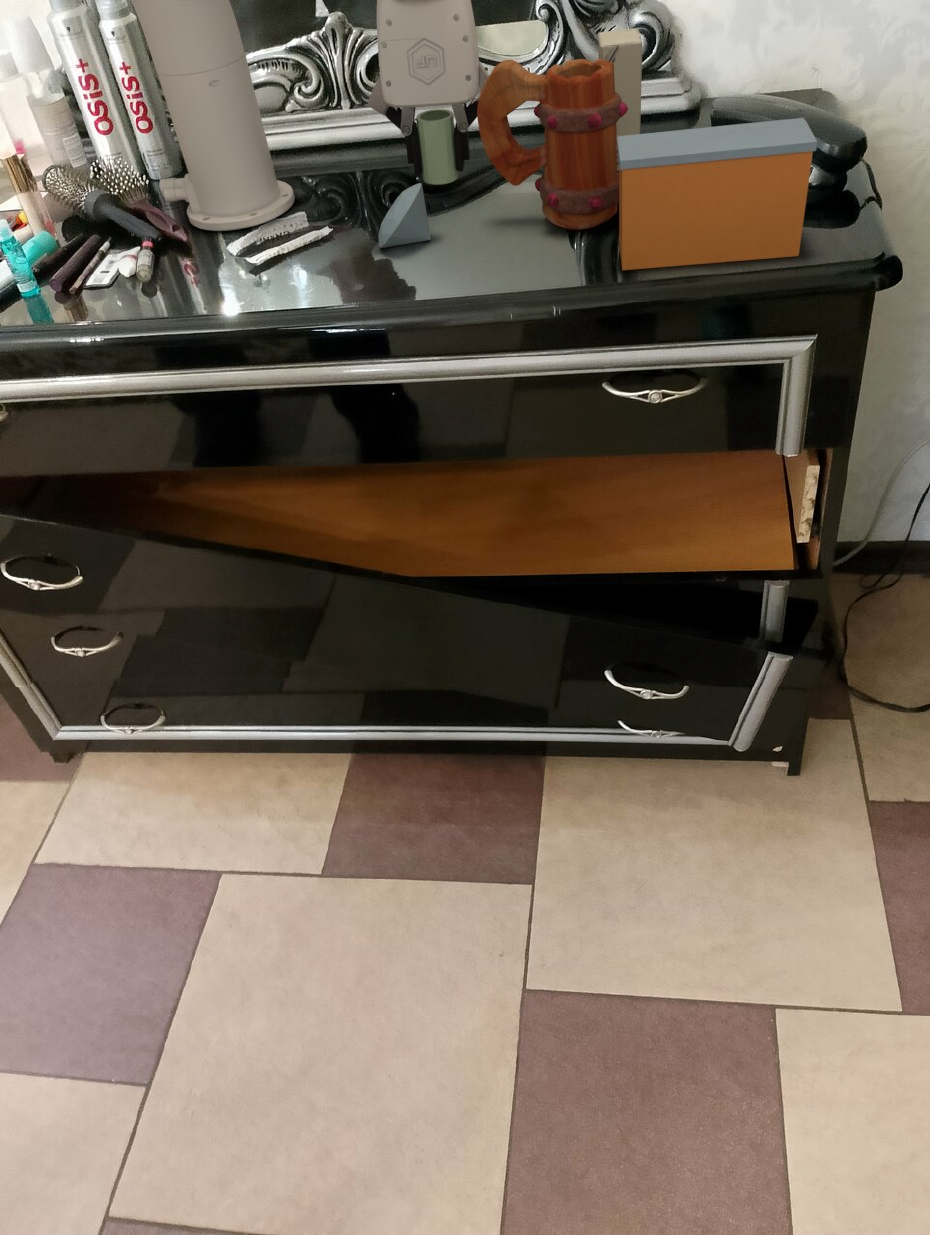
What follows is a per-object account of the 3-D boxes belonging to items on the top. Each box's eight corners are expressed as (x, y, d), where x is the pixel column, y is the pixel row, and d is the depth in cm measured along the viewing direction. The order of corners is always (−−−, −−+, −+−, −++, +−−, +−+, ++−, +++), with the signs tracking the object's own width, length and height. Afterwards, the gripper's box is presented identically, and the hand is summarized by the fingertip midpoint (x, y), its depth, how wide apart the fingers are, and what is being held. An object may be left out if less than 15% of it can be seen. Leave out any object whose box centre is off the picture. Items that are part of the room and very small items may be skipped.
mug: (634, 203, 98) (635, 41, 88) (622, 237, 93) (621, 68, 82) (499, 205, 102) (485, 50, 92) (480, 237, 97) (463, 76, 86)
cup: (421, 185, 104) (414, 122, 99) (425, 172, 107) (418, 110, 102) (457, 183, 103) (451, 120, 99) (459, 170, 106) (454, 107, 102)
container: (620, 271, 88) (619, 160, 81) (617, 244, 92) (616, 136, 85) (801, 257, 86) (817, 141, 79) (790, 229, 90) (804, 117, 83)
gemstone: (459, 194, 97) (420, 162, 95) (442, 235, 93) (401, 202, 91) (420, 243, 103) (382, 214, 101) (402, 284, 98) (363, 255, 97)
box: (598, 157, 109) (596, 31, 100) (637, 153, 108) (638, 26, 99) (601, 174, 105) (599, 44, 96) (641, 170, 104) (643, 39, 95)
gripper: (330, -11, 90) (361, 185, 103) (505, -26, 88) (513, 176, 101) (343, -29, 95) (370, 160, 108) (508, -43, 93) (516, 151, 106)
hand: (439, 166), depth 104 cm, fingers closed on cup, 4 cm apart
